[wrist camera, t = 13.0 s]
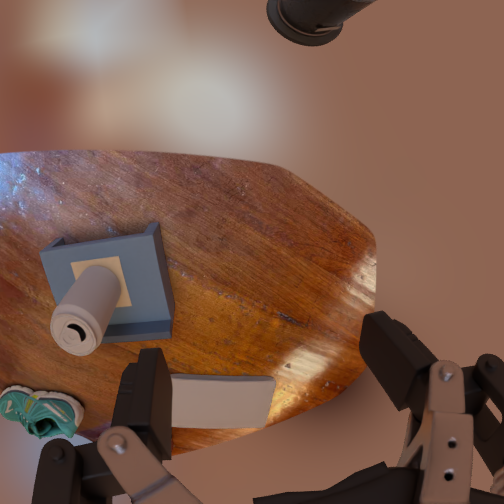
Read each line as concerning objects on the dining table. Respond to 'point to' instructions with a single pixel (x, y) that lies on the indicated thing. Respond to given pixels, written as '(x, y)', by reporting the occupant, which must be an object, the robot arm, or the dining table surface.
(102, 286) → the beverage can
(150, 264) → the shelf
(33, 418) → the running shoe
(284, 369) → the dining table surface
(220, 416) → the book
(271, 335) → the dining table surface
